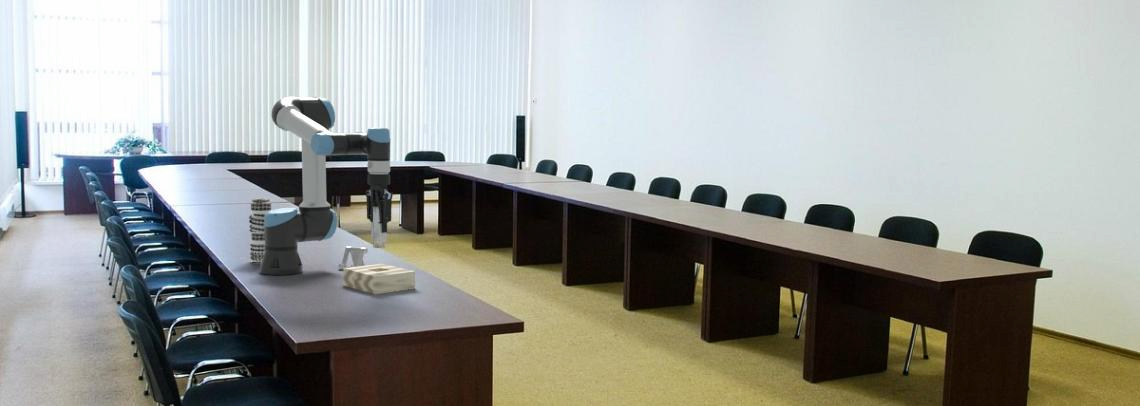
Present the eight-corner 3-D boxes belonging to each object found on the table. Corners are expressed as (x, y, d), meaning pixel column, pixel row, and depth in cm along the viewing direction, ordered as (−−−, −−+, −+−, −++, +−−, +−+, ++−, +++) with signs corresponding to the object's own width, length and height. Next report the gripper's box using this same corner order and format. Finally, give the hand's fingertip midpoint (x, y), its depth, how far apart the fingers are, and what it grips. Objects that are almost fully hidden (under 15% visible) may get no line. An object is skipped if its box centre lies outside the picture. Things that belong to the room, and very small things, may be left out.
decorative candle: (279, 261, 376) (278, 198, 374) (260, 264, 368) (259, 200, 366) (263, 258, 381) (262, 196, 379) (244, 261, 373) (243, 198, 371)
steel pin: (370, 247, 326) (370, 206, 325) (380, 246, 329) (380, 205, 327) (377, 248, 323) (377, 207, 322) (387, 247, 326) (387, 206, 325)
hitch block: (343, 285, 329) (343, 268, 328) (382, 280, 340) (382, 263, 340) (374, 294, 315) (374, 276, 314) (414, 288, 326) (415, 271, 325)
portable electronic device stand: (338, 270, 359) (338, 248, 359) (350, 267, 367) (350, 245, 366) (357, 272, 356) (357, 249, 355) (369, 268, 364) (369, 247, 363)
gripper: (355, 172, 327) (356, 239, 329) (383, 175, 315) (383, 245, 317) (374, 171, 332) (374, 237, 334) (402, 174, 320) (402, 243, 322)
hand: (379, 241), depth 326 cm, fingers closed on steel pin, 4 cm apart
